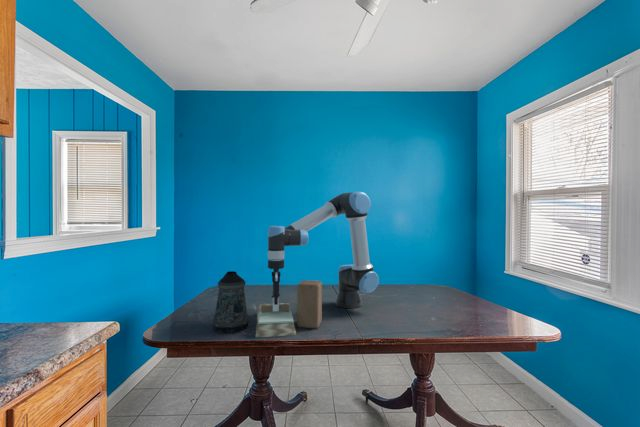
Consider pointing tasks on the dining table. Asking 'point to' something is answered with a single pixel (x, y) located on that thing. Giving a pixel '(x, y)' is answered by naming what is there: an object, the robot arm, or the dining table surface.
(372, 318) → the dining table surface
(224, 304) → the beer stein
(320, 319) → the wooden block
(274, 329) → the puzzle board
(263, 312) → the lid
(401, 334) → the dining table surface
